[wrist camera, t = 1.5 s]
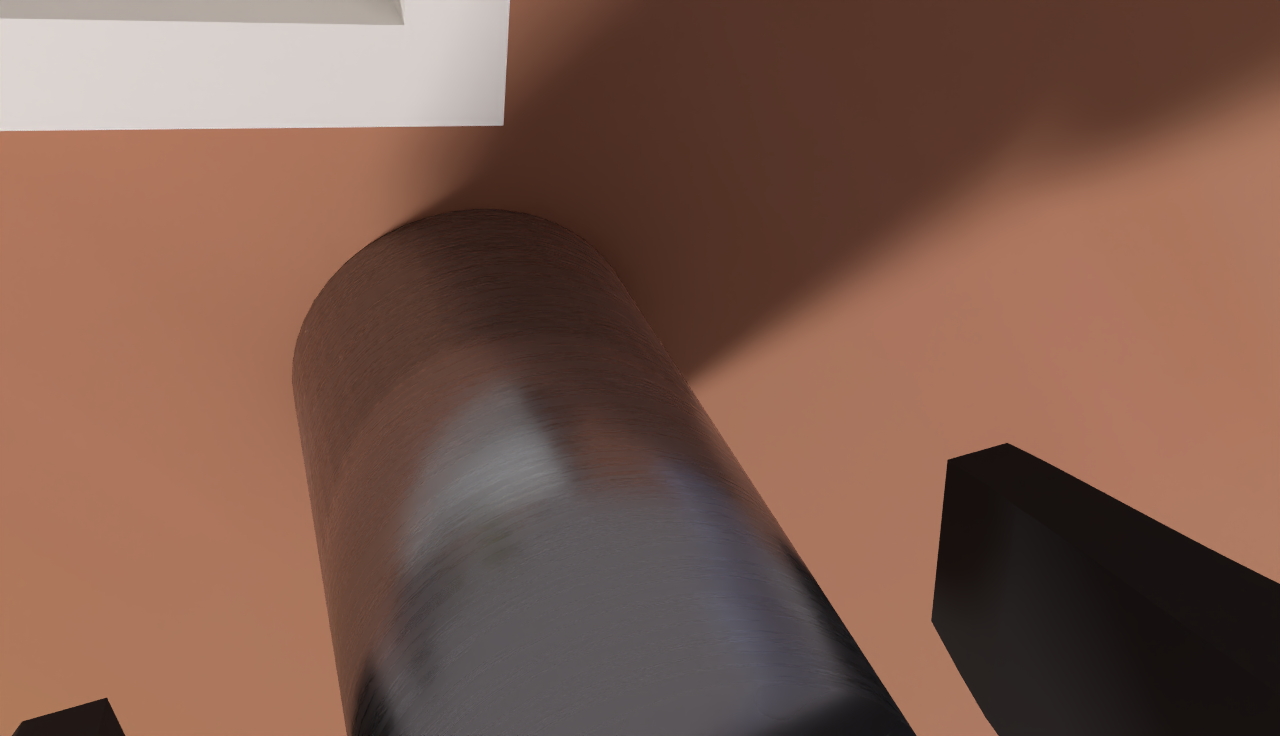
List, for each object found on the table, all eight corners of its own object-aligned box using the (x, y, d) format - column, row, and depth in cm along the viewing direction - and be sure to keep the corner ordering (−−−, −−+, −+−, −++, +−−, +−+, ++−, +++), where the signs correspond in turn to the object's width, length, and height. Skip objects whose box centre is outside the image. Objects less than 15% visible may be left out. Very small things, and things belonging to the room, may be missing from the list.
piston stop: (653, 203, 13) (997, 642, 8) (617, 486, 15) (870, 991, 10) (284, 215, 12) (384, 750, 7) (298, 523, 14) (384, 1128, 9)
